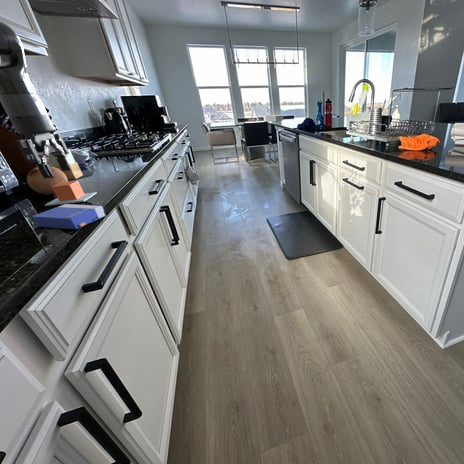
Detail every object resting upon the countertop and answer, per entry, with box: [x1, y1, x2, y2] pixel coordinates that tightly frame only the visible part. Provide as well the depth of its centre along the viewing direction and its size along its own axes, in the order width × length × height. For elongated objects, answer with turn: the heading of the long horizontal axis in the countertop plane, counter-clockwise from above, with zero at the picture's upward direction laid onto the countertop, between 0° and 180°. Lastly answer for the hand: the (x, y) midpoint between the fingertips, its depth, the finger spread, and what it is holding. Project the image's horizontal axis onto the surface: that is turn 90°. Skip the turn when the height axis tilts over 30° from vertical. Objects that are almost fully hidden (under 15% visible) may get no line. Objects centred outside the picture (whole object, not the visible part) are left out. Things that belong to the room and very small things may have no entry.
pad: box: [44, 191, 98, 207], centre depth 78 cm, size 10×8×1 cm
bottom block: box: [51, 161, 84, 181], centre depth 101 cm, size 6×6×6 cm
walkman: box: [31, 203, 106, 230], centre depth 62 cm, size 8×3×12 cm
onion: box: [26, 166, 69, 196], centre depth 82 cm, size 10×9×10 cm
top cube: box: [52, 180, 85, 201], centre depth 76 cm, size 5×5×5 cm
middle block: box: [48, 149, 76, 166], centre depth 98 cm, size 5×5×5 cm
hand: (58, 174), depth 74 cm, fingers open, 8 cm apart
